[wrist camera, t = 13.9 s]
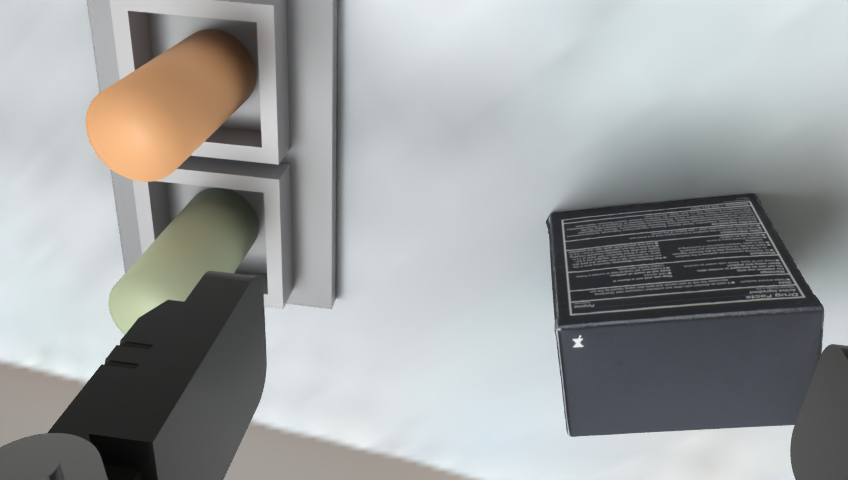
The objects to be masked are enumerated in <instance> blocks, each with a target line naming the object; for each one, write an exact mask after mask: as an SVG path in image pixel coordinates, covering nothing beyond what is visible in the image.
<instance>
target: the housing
mask: <svg viewBox="0 0 848 480" xmlns="http://www.w3.org/2000/svg"><path fill="white" fill-rule="evenodd" d="M87 6H88V13H89V21H90V28H91V35H92V42H93V49H94V56H95V63H96V70H97V77H98V84H99V91H100V92H102V91H103V90H105V89H106V88H108V87H109V86H111V85H113V84H114V83H116V82H117V81H119V80H121V79H122V78H124V77H125V76H127V75H128V74H130V73H132V72H133V71H135V70H136V69H138V68H140V67H141V66H143V65H144V64H146V63H147V62H149V61H151V60H152V59H154V58H155V57H157V56H159V55H160V54H162V53H163V52H165V51H167V50H168V49H170V48H171V47H173V46H174V45H176V44H178V43H179V42H181V41H182V40H184V39H186V38H187V37H189V36H190V35H192V34H193V33H196V32H198V31H201V30H207V29H214V30H220V31H223V32H226V33H228V34H230V35H232V36H234V37H235V38H236V39H238V40H239V41H240V42H241V43H242V44H243V45H244V46H245V47H246V48H247V50H248V51H249V53H250V55H251V57H252V58H253V61H254V64H255V68H256V83H255V87H254V90H253V92H252V94H251V95H250V97H249V98H248V99H247V100H246V101H245V102H244V103H243V104H242V105H241V106H240V107H239V108H238V109H237V110H236V111H235V112H234V113H233V114H232V115H231V116H230V117H229V118H228V119H227V120H226V121H225V122H224V123H223V124H222V125H221V126H220V127H219V128H218V129H217V130H216V131H215V132H214V133H213V134H212V135H211V136H210V137H209V138H208V139H207V140H206V141H205V142H204V143H203V144H202V145H201V146H200V147H199V148H198V149H196V150H195V151H194V152H193V153H192V154H191V155H190V156H189V157H188V158H187V159H186V160H185V161H184V162H183V163H182V164H181V165H180V166H179V167H178V168H177V169H176V170H175V171H174V172H173V173H172V174H170V175H169V176H167V177H165V178H163V179H161V180H157V181H152V182H141V181H135V180H131V179H128V178H126V177H123V176H121V175H119V174H117V173H116V172H114V171H113V170H111V176H112V183H113V190H114V197H115V204H116V211H117V219H118V226H119V233H120V240H121V247H122V254H123V261H124V268H125V273H126V272H127V271H128V270H129V269H130V268H131V267H132V265H133V264H134V263H135V262H136V261H137V260H138V259H139V258H140V256H141V255H142V254H143V253H144V252H145V251H146V250H147V249H148V248H149V246H150V245H151V244H152V243H153V242H154V241H155V240H156V239H157V238H158V236H159V235H160V234H161V233H162V232H163V231H164V230H165V229H166V228H167V226H168V225H169V224H170V223H171V222H172V221H173V220H174V219H175V218H176V216H177V215H178V214H179V213H180V212H181V211H182V210H183V209H184V208H185V206H186V205H187V204H188V203H189V202H190V201H191V200H192V199H193V198H194V196H195V195H197V194H198V193H200V192H201V191H204V190H206V189H211V188H222V189H227V190H230V191H233V192H235V193H237V194H239V195H240V196H242V197H243V198H244V199H245V200H246V201H248V203H249V204H250V205H251V206H252V208H253V209H254V211H255V213H256V215H257V218H258V222H259V232H258V236H257V239H256V240H255V242H254V244H253V245H252V247H251V248H250V250H249V251H248V253H247V254H246V256H245V257H244V259H243V260H242V262H241V263H240V265H239V266H238V268H237V269H236V271H235V272H234V273H235V274H243V275H252V276H259V277H260V279H261V281H262V284H263V293H264V307H271V308H280V309H283V308H284V306H285V304H294V305H302V306H311V307H319V308H328V309H332V307H333V304H334V302H335V293H336V140H337V0H87Z"/></svg>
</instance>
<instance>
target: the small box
mask: <svg viewBox="0 0 848 480" xmlns="http://www.w3.org/2000/svg"><path fill="white" fill-rule="evenodd" d="M546 224H547V228H548V234H549V239H550V258H551V274H552V289H553V303H554V317H555V334H556V340H557V349H558V359H559V366H560V375H561V383H562V393H563V402H564V413H565V419H566V428H567V433H568V435H569V436H571V437H575V436H591V435H611V434H627V433H645V432H663V431H683V430H702V429H721V428H740V427H761V426H783V425H795V423H796V421H797V418H798V415H799V413H800V410H801V407H802V404H803V402H804V399H805V396H806V394H807V391H808V388H809V385H810V383H811V380H812V377H813V375H814V372H815V369H816V366H817V364H818V361H819V358H820V356H821V352H822V337H823V321H824V308H823V306H822V304H821V303H820V301H819V299H818V298H817V297H816V296H815V295H814V294H813V293H812V290H811V289H810V287H809V285H808V284H807V283H806V282H805V280H804V278H803V276H802V275H801V273H800V271H799V270H798V269H797V266H796V264H795V262H794V260H793V258H792V257H791V255H790V254H789V252H788V250H787V249H786V247H785V245H784V244H783V242H782V240H781V239H780V237H779V235H778V233H777V232H776V230H775V229H774V227H773V225H772V223H771V221H770V219H769V218H768V217H767V215H766V214H765V211H764V210H763V208H762V206H761V204H760V200H759V198H758V196H757V195H755V194H746V195H735V196H724V197H713V198H704V199H693V200H683V201H673V202H663V203H654V204H643V205H633V206H622V207H612V208H603V209H592V210H583V211H574V212H565V213H552V214H551V215H550V216H549V217H548V219H547V221H546Z"/></svg>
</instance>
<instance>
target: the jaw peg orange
mask: <svg viewBox="0 0 848 480" xmlns="http://www.w3.org/2000/svg"><path fill="white" fill-rule="evenodd" d="M255 83H256V68H255V64H254V61H253V58H252V57H251V55H250V53H249V51H248V50H247V48H246V47H245V46H244V45H243V44H242V43H241V42H240V41H239V40H238V39H236V38H235V37H234V36H232V35H230V34H228V33H226V32H223V31H220V30H214V29H207V30H201V31H198V32H196V33H193V34H192V35H190V36H189V37H187V38H186V39H184V40H182V41H181V42H179V43H178V44H176V45H174V46H173V47H171V48H170V49H168V50H167V51H165V52H163V53H162V54H160V55H159V56H157V57H155V58H154V59H152V60H151V61H149V62H147V63H146V64H144V65H143V66H141V67H140V68H138V69H136V70H135V71H133V72H132V73H130V74H128V75H127V76H125V77H124V78H122V79H121V80H119V81H117V82H116V83H114V84H113V85H111V86H109V87H108V88H106V89H105V90H103V91H102V92H100V93H99V94H98V95H97V96H96V97H95V98H94V99H93V100H92V102H91V104H90V105H89V108H88V111H87V115H86V131H87V135H88V138H89V141H90V144H91V146H92V148H93V149H94V151H95V153H96V154H97V156H98V157H99V158H100V159H101V160H102V161H103V163H104V164H105V165H107V166H108V167H109V168H110V169H111V170H113V171H114V172H116V173H117V174H119V175H121V176H123V177H126V178H128V179H131V180H135V181H141V182H152V181H157V180H161V179H163V178H165V177H167V176H169V175H170V174H172V173H173V172H174V171H175V170H176V169H177V168H178V167H179V166H180V165H181V164H182V163H183V162H184V161H185V160H186V159H187V158H188V157H189V156H190V155H191V154H192V153H193V152H194V151H195V150H196V149H198V148H199V147H200V146H201V145H202V144H203V143H204V142H205V141H206V140H207V139H208V138H209V137H210V136H211V135H212V134H213V133H214V132H215V131H216V130H217V129H218V128H219V127H220V126H221V125H222V124H223V123H224V122H225V121H226V120H227V119H228V118H229V117H230V116H231V115H232V114H233V113H234V112H235V111H236V110H237V109H238V108H239V107H240V106H241V105H242V104H243V103H244V102H245V101H246V100H247V99H248V98H249V97H250V95H251V94H252V92H253V90H254V87H255Z"/></svg>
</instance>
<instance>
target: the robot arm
mask: <svg viewBox="0 0 848 480" xmlns="http://www.w3.org/2000/svg"><path fill="white" fill-rule="evenodd" d="M266 364H267V363H266V338H265V315H264V293H263V284H262V281H261V279H260V277H259V276H252V275H243V274H235V273H226V272H217V271H207V272H206V273H205V274H204V275H203V276H202V278H201V279H200V281H199V282H198V283H197V285H196V286H195V288H194V289H193V290H192V292H191V293H190V294H189V296H188V297H187V299H186V300H185V301H184V302H183V301H175V300H167V301H165V302H163V303H162V304H160V305H159V306H157V307H155V308H154V309H152V310H150V311H149V312H147V313H146V314H144V315H142V316H141V317H139V318H138V319H137V320H136V322H135V323H134V324H133V325H132V327H131V328H130V329H129V330H128V332H127V333H126V334H125V336H124V337H123V338H122V339H121V341H120V346H119V345H117V346H116V347H115V348H114V349H113V351H112V352H111V353H110V354H109V356H108V357H107V358H106V360H105V365H101V366H100V367H99V368H98V370H97V371H96V372H95V373H94V375H93V376H92V377H91V379H90V380H89V381H88V382H87V384H86V385H85V386H84V387H83V389H82V390H81V391H80V392H79V394H78V395H77V396H76V398H75V399H74V400H73V401H72V403H71V404H70V405H69V406H68V408H67V409H66V410H65V411H64V413H63V414H62V415H61V416H60V418H59V419H58V420H57V422H56V423H55V424H54V425H53V427H52V428H51V429H50V430H49V432H48V433H46V434H38V435H33V436H29V437H25V438H22V439H19V440H16V441H13V442H11V443H9V444H7V445H4V446H2V447H1V448H0V480H223V479H224V477H225V475H226V473H227V470H228V468H229V466H230V464H231V462H232V460H233V458H234V456H235V453H236V451H237V449H238V447H239V445H240V443H241V441H242V438H243V436H244V434H245V432H246V430H247V428H248V426H249V424H250V421H251V419H252V417H253V415H254V413H255V411H256V409H257V407H258V404H259V402H260V399H261V396H262V392H263V388H264V383H265V377H266ZM791 464H792V469H793V473H794V476H795V479H796V480H848V346H844V345H835V344H832V345H829V346H828V347H826V348H825V350H824V351H823V352H822V354H821V356H820V358H819V361H818V364H817V366H816V369H815V372H814V375H813V377H812V380H811V383H810V385H809V388H808V391H807V394H806V396H805V399H804V402H803V404H802V407H801V410H800V413H799V415H798V418H797V421H796V423H795V426H794V429H793V433H792V438H791Z"/></svg>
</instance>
